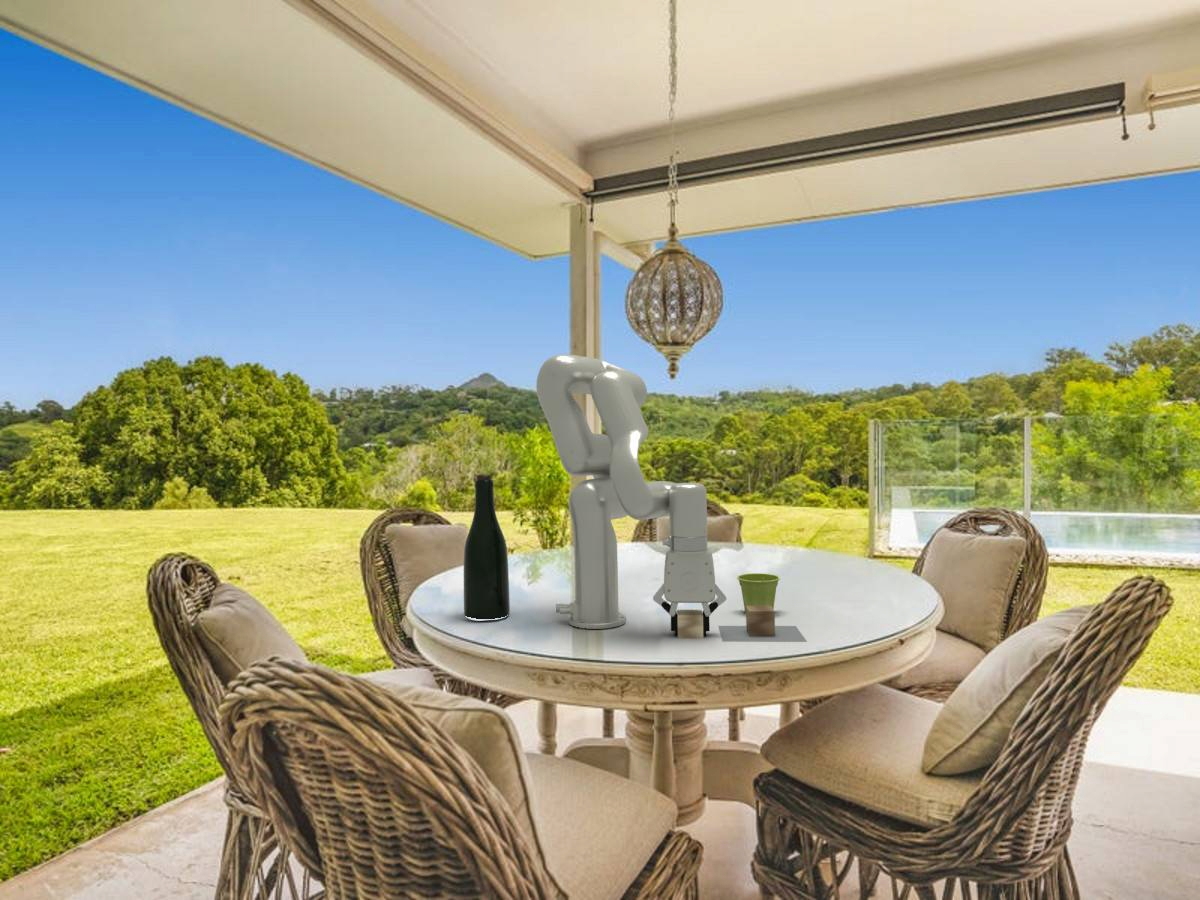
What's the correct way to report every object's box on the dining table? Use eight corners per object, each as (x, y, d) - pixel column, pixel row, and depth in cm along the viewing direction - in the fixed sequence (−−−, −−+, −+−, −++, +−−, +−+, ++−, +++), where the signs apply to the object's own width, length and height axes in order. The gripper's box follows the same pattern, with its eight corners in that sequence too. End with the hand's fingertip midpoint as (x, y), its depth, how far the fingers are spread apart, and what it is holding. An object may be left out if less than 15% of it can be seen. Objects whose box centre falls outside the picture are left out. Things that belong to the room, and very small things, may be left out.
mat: (722, 644, 139) (722, 641, 139) (718, 628, 151) (718, 625, 151) (807, 644, 138) (807, 641, 138) (795, 628, 150) (795, 625, 150)
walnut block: (749, 636, 142) (748, 611, 142) (746, 630, 147) (746, 605, 147) (775, 636, 142) (774, 611, 142) (771, 630, 147) (770, 605, 147)
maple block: (678, 640, 143) (677, 615, 143) (677, 633, 148) (677, 609, 148) (703, 640, 142) (702, 615, 142) (702, 633, 147) (701, 609, 147)
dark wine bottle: (472, 611, 172) (469, 473, 172) (515, 612, 170) (512, 473, 170) (457, 622, 162) (454, 475, 162) (502, 623, 160) (499, 474, 160)
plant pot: (781, 620, 157) (780, 581, 157) (737, 619, 159) (736, 580, 159) (779, 611, 166) (778, 573, 166) (738, 610, 168) (737, 572, 168)
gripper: (645, 547, 142) (647, 639, 142) (733, 546, 140) (734, 640, 140) (646, 542, 149) (648, 629, 149) (729, 541, 148) (731, 630, 148)
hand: (690, 633), depth 145 cm, fingers closed on maple block, 5 cm apart
